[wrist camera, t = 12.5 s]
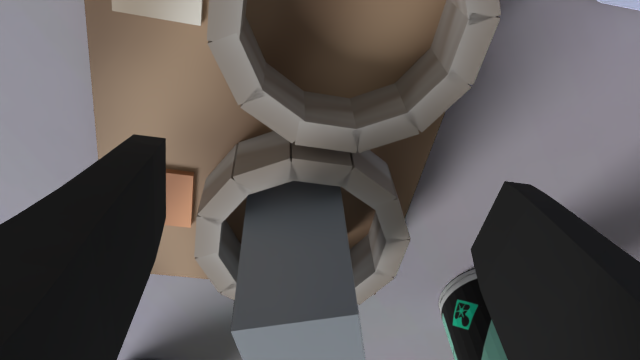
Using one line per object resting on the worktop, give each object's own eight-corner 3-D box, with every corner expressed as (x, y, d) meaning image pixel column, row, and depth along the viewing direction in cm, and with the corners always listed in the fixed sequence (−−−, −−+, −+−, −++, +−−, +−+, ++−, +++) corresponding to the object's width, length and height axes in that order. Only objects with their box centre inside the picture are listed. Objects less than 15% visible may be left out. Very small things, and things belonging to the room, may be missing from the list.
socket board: (526, -135, 16) (578, -129, 13) (372, 280, 27) (382, 332, 24) (75, -246, 14) (19, -267, 11) (114, 255, 25) (91, 309, 22)
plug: (337, 167, 21) (358, 314, 15) (347, 233, 23) (369, 385, 17) (249, 180, 21) (230, 331, 15) (267, 245, 24) (258, 399, 17)
